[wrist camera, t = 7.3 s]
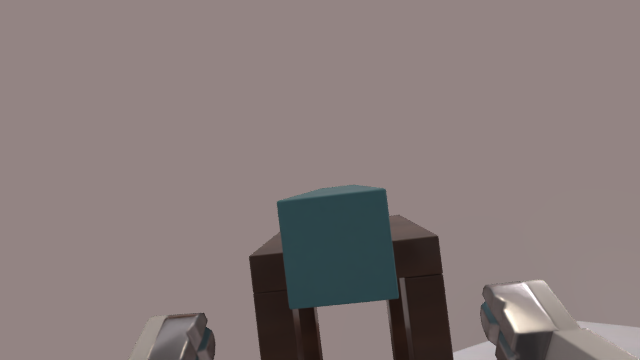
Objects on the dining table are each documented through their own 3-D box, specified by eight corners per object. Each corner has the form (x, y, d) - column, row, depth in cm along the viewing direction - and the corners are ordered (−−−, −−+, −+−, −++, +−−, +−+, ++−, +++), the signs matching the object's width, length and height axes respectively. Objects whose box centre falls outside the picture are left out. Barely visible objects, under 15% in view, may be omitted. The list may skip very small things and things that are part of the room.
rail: (399, 299, 9) (386, 188, 10) (289, 310, 10) (276, 201, 10) (358, 218, 31) (354, 184, 32) (324, 222, 32) (320, 188, 32)
